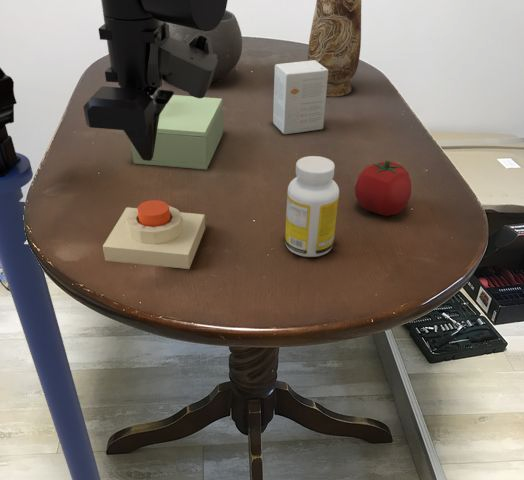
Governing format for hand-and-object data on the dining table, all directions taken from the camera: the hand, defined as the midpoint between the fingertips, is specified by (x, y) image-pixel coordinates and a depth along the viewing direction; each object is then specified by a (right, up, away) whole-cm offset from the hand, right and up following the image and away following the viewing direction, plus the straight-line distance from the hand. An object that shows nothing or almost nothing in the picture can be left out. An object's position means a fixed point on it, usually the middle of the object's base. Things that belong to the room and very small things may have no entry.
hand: (147, 159), depth 71 cm
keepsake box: (0, +12, +30) cm, 32 cm away
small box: (+20, +18, +38) cm, 47 cm away
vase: (+28, +32, +53) cm, 68 cm away
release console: (0, -9, +8) cm, 12 cm away
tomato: (+31, -2, +17) cm, 36 cm away
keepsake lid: (-1, +16, +27) cm, 31 cm away
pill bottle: (+20, -9, +9) cm, 24 cm away
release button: (0, -6, +5) cm, 8 cm away
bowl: (0, +35, +56) cm, 67 cm away
